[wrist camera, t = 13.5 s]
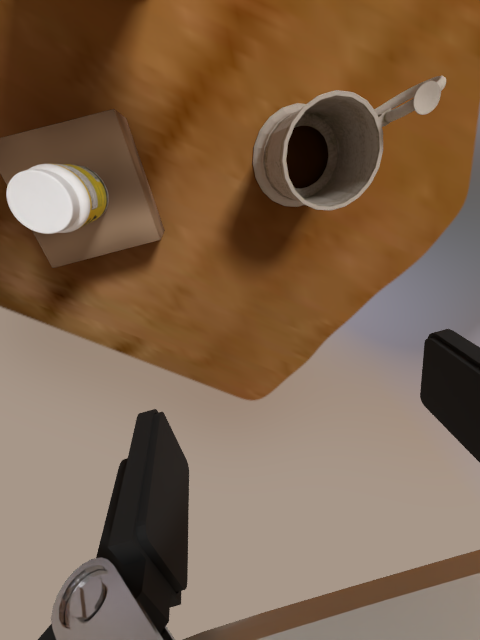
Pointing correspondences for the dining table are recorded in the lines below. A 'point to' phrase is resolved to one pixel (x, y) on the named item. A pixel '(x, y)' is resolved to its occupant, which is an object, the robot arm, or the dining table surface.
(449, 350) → the robot arm
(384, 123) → the mug
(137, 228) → the walnut block
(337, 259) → the dining table surface
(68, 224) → the supplement bottle
